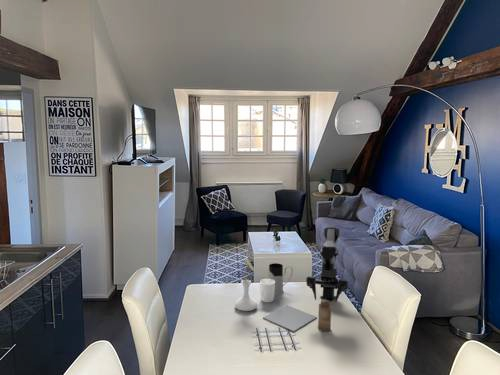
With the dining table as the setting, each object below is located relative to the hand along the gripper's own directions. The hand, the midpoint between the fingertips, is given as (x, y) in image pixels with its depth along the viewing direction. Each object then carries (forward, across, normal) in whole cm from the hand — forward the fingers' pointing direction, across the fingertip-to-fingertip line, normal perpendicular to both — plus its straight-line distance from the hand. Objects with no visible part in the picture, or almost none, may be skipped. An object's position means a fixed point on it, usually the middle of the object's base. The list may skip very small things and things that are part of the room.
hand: (325, 300), depth 174 cm
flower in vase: (+3, -39, +13) cm, 42 cm away
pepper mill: (+11, 0, +5) cm, 12 cm away
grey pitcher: (-14, -26, +30) cm, 42 cm away
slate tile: (+7, -16, +9) cm, 20 cm away
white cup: (-5, -31, +21) cm, 38 cm away
